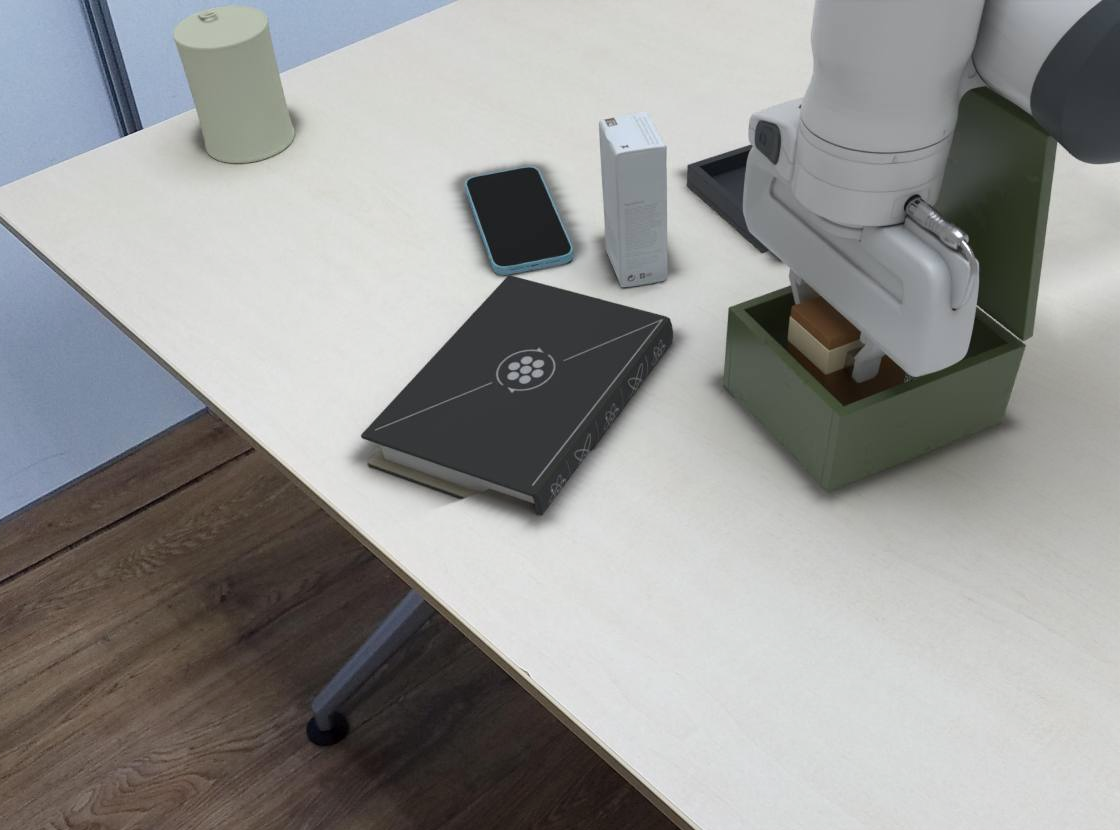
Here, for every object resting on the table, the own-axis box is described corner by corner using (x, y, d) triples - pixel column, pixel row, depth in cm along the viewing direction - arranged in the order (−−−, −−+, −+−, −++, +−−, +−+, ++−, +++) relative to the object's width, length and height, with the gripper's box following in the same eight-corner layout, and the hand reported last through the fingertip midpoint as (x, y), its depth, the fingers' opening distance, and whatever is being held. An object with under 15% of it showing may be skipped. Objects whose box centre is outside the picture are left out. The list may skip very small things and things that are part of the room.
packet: (860, 378, 87) (878, 273, 80) (899, 412, 84) (920, 307, 77) (779, 409, 85) (790, 305, 79) (815, 445, 82) (830, 341, 76)
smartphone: (494, 269, 100) (462, 178, 109) (495, 280, 100) (463, 188, 110) (576, 253, 100) (537, 164, 110) (576, 264, 101) (538, 174, 110)
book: (542, 528, 81) (539, 496, 78) (366, 466, 86) (359, 435, 84) (673, 349, 92) (674, 317, 90) (511, 304, 98) (508, 274, 95)
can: (267, 109, 124) (238, -9, 115) (311, 140, 119) (284, 19, 109) (190, 140, 120) (153, 22, 111) (232, 174, 115) (197, 52, 106)
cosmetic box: (669, 281, 98) (673, 145, 89) (617, 290, 98) (615, 155, 89) (650, 242, 102) (652, 108, 93) (600, 250, 102) (597, 117, 93)
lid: (1047, 136, 65) (1123, 95, 65) (896, 44, 73) (964, 8, 73) (1023, 342, 77) (1086, 307, 77) (896, 243, 85) (954, 211, 86)
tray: (864, 127, 112) (867, 106, 110) (970, 202, 102) (976, 180, 101) (686, 185, 108) (687, 164, 106) (779, 269, 98) (782, 247, 96)
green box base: (825, 504, 80) (840, 417, 74) (721, 393, 88) (728, 307, 82) (998, 433, 83) (1026, 345, 77) (882, 333, 91) (900, 246, 86)
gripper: (1029, 231, 64) (969, 424, 75) (817, 82, 77) (791, 265, 87) (935, 263, 63) (887, 455, 73) (734, 105, 75) (718, 288, 86)
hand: (833, 350), depth 80 cm, fingers closed on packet, 4 cm apart
